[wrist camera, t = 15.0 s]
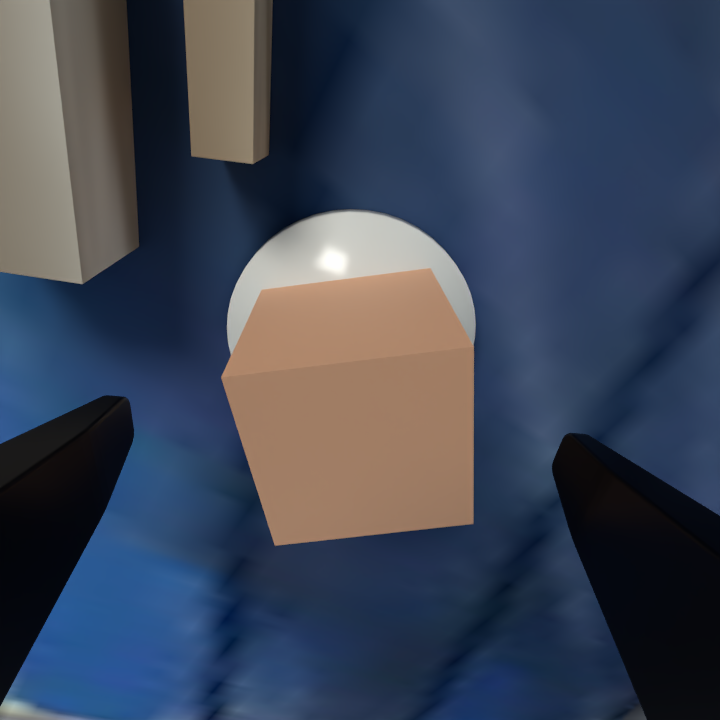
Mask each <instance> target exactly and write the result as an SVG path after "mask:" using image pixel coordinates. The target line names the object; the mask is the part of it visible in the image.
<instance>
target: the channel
mask: <svg viewBox="0 0 720 720" xmlns="http://www.w3.org/2000/svg"><path fill="white" fill-rule="evenodd" d="M183 2H184V22H185V41H186V60H187V80H188V99H189V119H190V138H191V156H194V157H202V158H209V159H217V160H225V161H233V162H240V163H248V164H254V163H256V162H257V161H259V160H261V159H263V158H264V157H266V156H268V155H269V131H270V89H271V48H272V7H273V0H183Z"/></svg>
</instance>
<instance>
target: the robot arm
mask: <svg viewBox="0 0 720 720" xmlns="http://www.w3.org/2000/svg"><path fill="white" fill-rule="evenodd" d="M133 438H134V427H133V420H132V414H131V407H130V402H129V400H128V399H127V398H126V397H121V396H109V395H106V396H102V397H100V398H98V399H96V400H94V401H91V402H89V403H87V404H85V405H83V406H81V407H79V408H77V409H74V410H72V411H70V412H68V413H66V414H64V415H62V416H59V417H57V418H55V419H53V420H51V421H49V422H47V423H44V424H42V425H40V426H38V427H36V428H34V429H32V430H29V431H27V432H25V433H23V434H21V435H19V436H17V437H14V438H12V439H10V440H8V441H6V442H4V443H2V444H0V706H1V704H2V702H3V700H4V698H5V696H6V695H7V693H8V691H9V689H10V687H11V685H12V683H13V682H14V680H15V678H16V676H17V674H18V672H19V670H20V669H21V667H22V665H23V663H24V661H25V659H26V657H27V656H28V654H29V652H30V650H31V648H32V646H33V644H34V642H35V641H36V639H37V637H38V635H39V633H40V631H41V629H42V628H43V626H44V624H45V622H46V620H47V618H48V616H49V615H50V613H51V611H52V609H53V607H54V605H55V603H56V602H57V600H58V598H59V596H60V594H61V592H62V590H63V589H64V587H65V585H66V583H67V581H68V579H69V577H70V575H71V574H72V572H73V570H74V568H75V566H76V564H77V562H78V561H79V559H80V557H81V555H82V553H83V551H84V549H85V548H86V546H87V544H88V542H89V540H90V538H91V536H92V535H93V533H94V531H95V529H96V527H97V525H98V523H99V521H100V520H101V518H102V516H103V514H104V512H105V510H106V507H107V505H108V503H109V500H110V498H111V495H112V493H113V490H114V488H115V485H116V483H117V480H118V478H119V475H120V473H121V470H122V467H123V465H124V462H125V460H126V457H127V455H128V452H129V450H130V447H131V445H132V442H133ZM552 472H553V476H554V480H555V483H556V487H557V490H558V493H559V497H560V500H561V503H562V507H563V510H564V514H565V517H566V520H567V524H568V527H569V530H570V533H571V536H572V539H573V542H574V544H575V547H576V549H577V552H578V554H579V557H580V559H581V561H582V564H583V566H584V569H585V571H586V574H587V576H588V578H589V581H590V583H591V586H592V588H593V590H594V593H595V595H596V598H597V600H598V603H599V605H600V607H601V610H602V612H603V615H604V617H605V620H606V622H607V624H608V627H609V629H610V632H611V634H612V636H613V639H614V641H615V644H616V646H617V649H618V651H619V653H620V656H621V658H622V661H623V663H624V665H625V668H626V670H627V673H628V675H629V678H630V680H631V682H632V685H633V687H634V690H635V692H636V694H637V697H638V699H639V702H640V704H641V707H642V709H643V711H644V714H645V716H646V718H647V720H720V516H719V515H718V514H716V513H714V512H713V511H711V510H709V509H708V508H706V507H705V506H703V505H701V504H700V503H698V502H696V501H695V500H693V499H692V498H690V497H688V496H687V495H685V494H683V493H682V492H680V491H678V490H677V489H675V488H674V487H672V486H670V485H669V484H667V483H665V482H664V481H662V480H661V479H659V478H657V477H656V476H654V475H652V474H651V473H649V472H648V471H646V470H644V469H643V468H641V467H639V466H638V465H636V464H635V463H633V462H631V461H630V460H628V459H626V458H625V457H623V456H621V455H620V454H618V453H617V452H615V451H613V450H612V449H610V448H608V447H607V446H605V445H604V444H602V443H600V442H599V441H597V440H595V439H594V438H592V437H591V436H589V435H586V434H578V433H568V434H566V435H565V436H564V438H563V439H562V442H561V444H560V446H559V449H558V451H557V453H556V456H555V458H554V460H553V464H552Z"/></svg>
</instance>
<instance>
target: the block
mask: <svg viewBox="0 0 720 720" xmlns="http://www.w3.org/2000/svg"><path fill="white" fill-rule="evenodd" d="M221 379H222V382H223V385H224V388H225V391H226V394H227V397H228V401H229V404H230V407H231V410H232V413H233V416H234V419H235V422H236V426H237V429H238V432H239V435H240V438H241V441H242V444H243V447H244V451H245V454H246V457H247V460H248V463H249V466H250V469H251V472H252V476H253V479H254V482H255V485H256V488H257V491H258V494H259V497H260V501H261V504H262V507H263V510H264V513H265V516H266V519H267V522H268V526H269V529H270V532H271V535H272V538H273V541H274V544H275V546H276V545H285V544H294V543H304V542H313V541H322V540H331V539H340V538H349V537H358V536H367V535H376V534H386V533H395V532H404V531H413V530H422V529H431V528H440V527H449V526H458V525H468V524H473V486H474V346H473V344H472V342H471V341H470V339H469V337H468V335H467V333H466V332H465V330H464V328H463V326H462V324H461V322H460V321H459V319H458V317H457V315H456V313H455V312H454V310H453V308H452V306H451V304H450V303H449V301H448V299H447V297H446V295H445V294H444V292H443V290H442V288H441V286H440V284H439V283H438V281H437V279H436V277H435V275H434V274H433V272H432V270H431V268H427V269H419V270H411V271H403V272H396V273H388V274H380V275H372V276H364V277H357V278H349V279H341V280H333V281H325V282H318V283H310V284H302V285H294V286H286V287H278V288H271V289H263V290H261V292H260V294H259V296H258V298H257V300H256V303H255V305H254V307H253V309H252V311H251V314H250V316H249V318H248V320H247V322H246V324H245V327H244V329H243V331H242V333H241V335H240V338H239V340H238V342H237V344H236V346H235V348H234V351H233V353H232V355H231V357H230V359H229V361H228V364H227V366H226V368H225V370H224V372H223V375H222V377H221Z"/></svg>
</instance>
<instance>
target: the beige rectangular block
mask: <svg viewBox="0 0 720 720" xmlns="http://www.w3.org/2000/svg"><path fill="white" fill-rule="evenodd" d="M138 247H139V233H138V214H137V194H136V175H135V156H134V137H133V118H132V98H131V79H130V60H129V41H128V21H127V2H126V0H0V272H6V273H12V274H19V275H25V276H32V277H38V278H45V279H51V280H58V281H65V282H71V283H78V284H84V283H85V282H87V281H88V280H90V279H91V278H93V277H94V276H96V275H97V274H99V273H100V272H102V271H103V270H105V269H106V268H108V267H109V266H111V265H112V264H114V263H115V262H117V261H118V260H120V259H121V258H123V257H124V256H126V255H127V254H129V253H130V252H132V251H133V250H135V249H136V248H138Z"/></svg>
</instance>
